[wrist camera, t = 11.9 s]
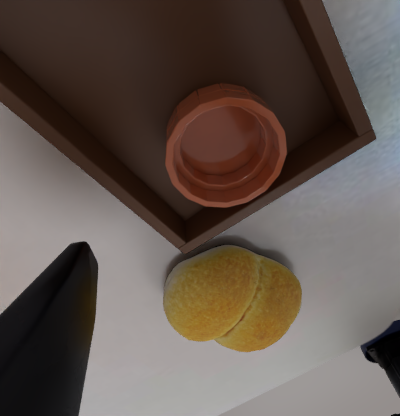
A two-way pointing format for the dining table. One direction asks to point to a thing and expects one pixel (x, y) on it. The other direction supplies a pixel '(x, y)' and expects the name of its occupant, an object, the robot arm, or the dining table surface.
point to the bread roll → (232, 298)
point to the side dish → (223, 146)
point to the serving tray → (176, 91)
